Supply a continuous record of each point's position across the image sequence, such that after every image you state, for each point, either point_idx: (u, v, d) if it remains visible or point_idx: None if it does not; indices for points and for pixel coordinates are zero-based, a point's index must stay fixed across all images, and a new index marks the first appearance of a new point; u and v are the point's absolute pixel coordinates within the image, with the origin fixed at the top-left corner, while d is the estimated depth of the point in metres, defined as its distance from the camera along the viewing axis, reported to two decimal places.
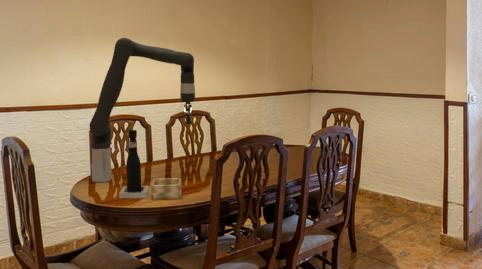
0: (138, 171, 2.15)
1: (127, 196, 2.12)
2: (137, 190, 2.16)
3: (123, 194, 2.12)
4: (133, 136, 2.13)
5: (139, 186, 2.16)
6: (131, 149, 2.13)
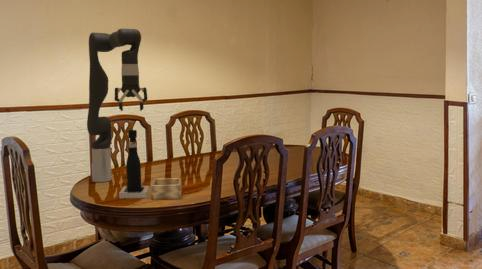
0: (138, 171, 2.15)
1: (127, 196, 2.12)
2: (137, 190, 2.16)
3: (123, 194, 2.12)
4: (133, 136, 2.13)
5: (139, 186, 2.16)
6: (131, 149, 2.13)
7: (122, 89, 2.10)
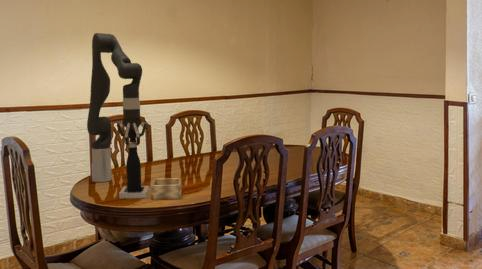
0: (138, 171, 2.15)
1: (127, 196, 2.12)
2: (137, 190, 2.16)
3: (123, 194, 2.12)
4: (133, 136, 2.13)
5: (139, 186, 2.16)
6: (131, 149, 2.13)
7: (123, 123, 2.12)
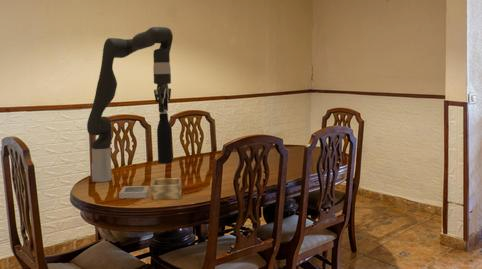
0: None
1: (127, 196, 2.12)
2: None
3: (123, 194, 2.12)
4: (167, 101, 2.11)
5: None
6: (167, 115, 2.11)
7: (161, 88, 2.06)
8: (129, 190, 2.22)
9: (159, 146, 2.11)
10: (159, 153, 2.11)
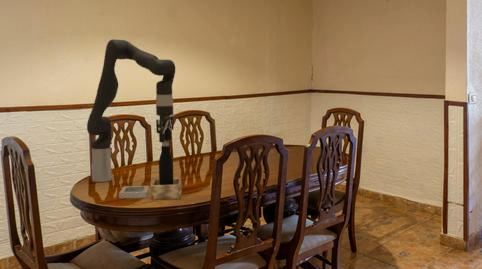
0: None
1: (127, 196, 2.12)
2: None
3: (123, 194, 2.12)
4: (169, 134, 2.13)
5: None
6: (169, 148, 2.13)
7: (164, 120, 2.08)
8: (129, 190, 2.22)
9: (161, 178, 2.13)
10: None
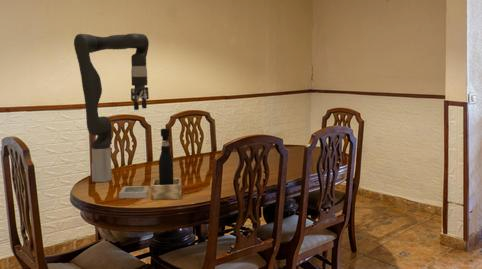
0: None
1: (127, 196, 2.12)
2: None
3: (123, 194, 2.12)
4: None
5: None
6: (169, 148, 2.13)
7: (138, 89, 2.26)
8: (129, 190, 2.22)
9: (161, 178, 2.13)
10: None
